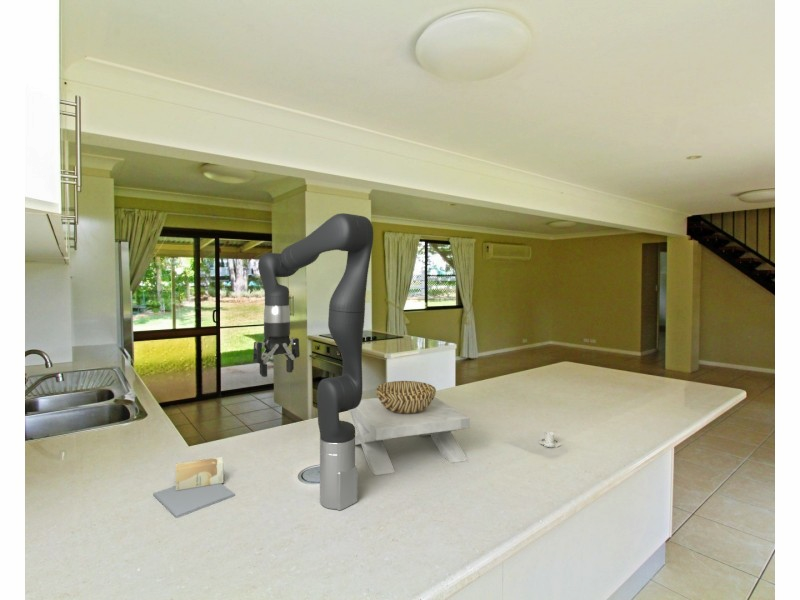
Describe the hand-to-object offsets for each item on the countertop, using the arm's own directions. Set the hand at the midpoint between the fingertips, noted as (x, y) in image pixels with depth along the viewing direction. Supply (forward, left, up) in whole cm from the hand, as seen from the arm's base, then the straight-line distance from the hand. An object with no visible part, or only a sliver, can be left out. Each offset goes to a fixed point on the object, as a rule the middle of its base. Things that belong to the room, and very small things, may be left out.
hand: (277, 374), depth 128 cm
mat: (+4, +23, -30) cm, 38 cm away
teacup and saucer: (-48, -78, -31) cm, 97 cm away
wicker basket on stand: (-16, -40, -30) cm, 53 cm away
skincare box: (+6, +14, -26) cm, 30 cm away
